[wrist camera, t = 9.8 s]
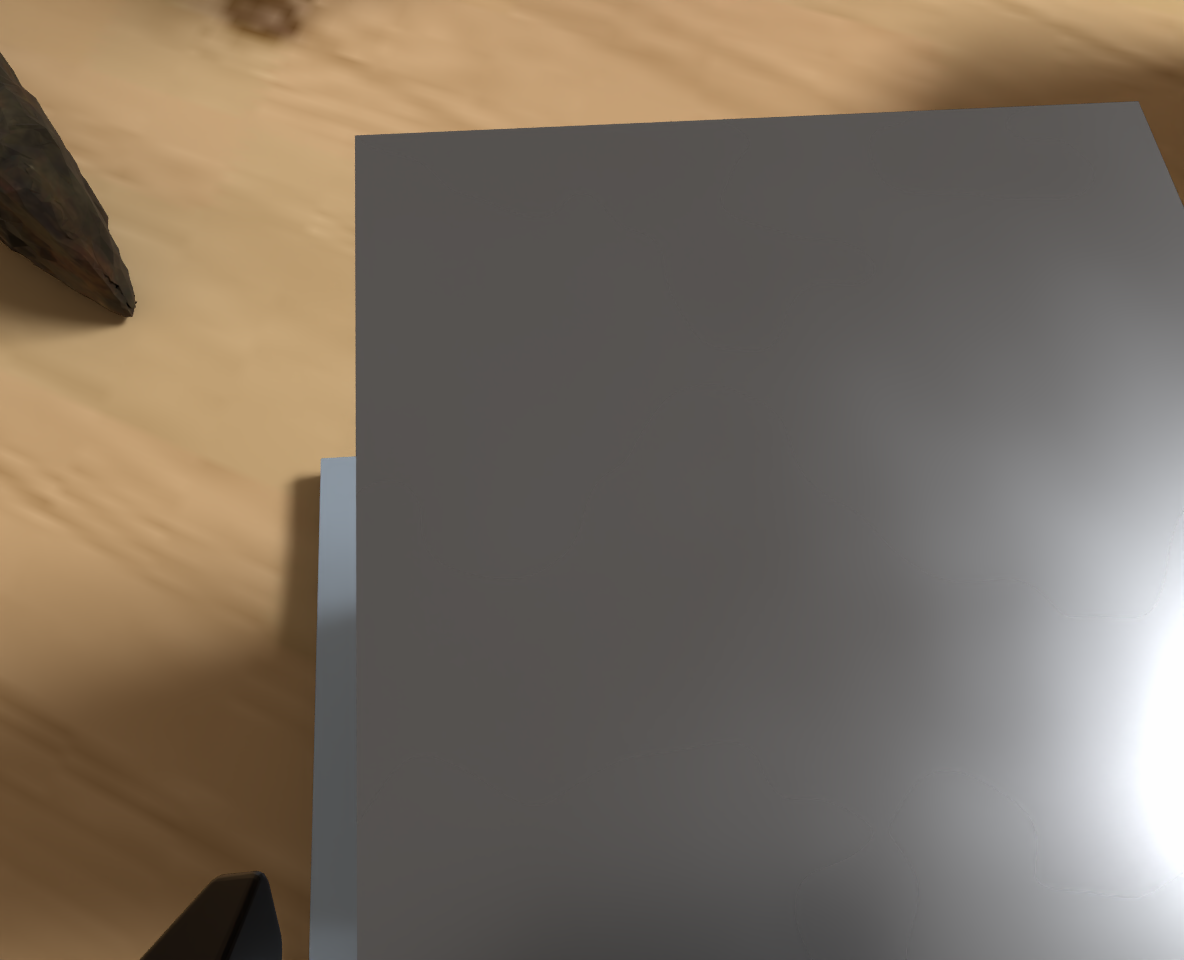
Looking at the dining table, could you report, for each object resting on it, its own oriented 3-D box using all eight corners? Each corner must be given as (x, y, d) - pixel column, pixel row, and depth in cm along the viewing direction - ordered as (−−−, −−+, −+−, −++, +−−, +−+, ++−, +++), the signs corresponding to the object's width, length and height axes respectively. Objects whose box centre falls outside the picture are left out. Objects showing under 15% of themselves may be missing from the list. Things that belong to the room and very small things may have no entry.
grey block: (834, 883, 16) (1510, 970, 5) (495, 922, 15) (358, 1120, 4) (774, 558, 18) (1138, 100, 7) (476, 583, 18) (355, 134, 6)
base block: (994, 1052, 16) (1148, 1124, 12) (325, 1132, 15) (245, 1242, 11) (863, 451, 21) (943, 355, 17) (336, 485, 20) (281, 391, 16)
